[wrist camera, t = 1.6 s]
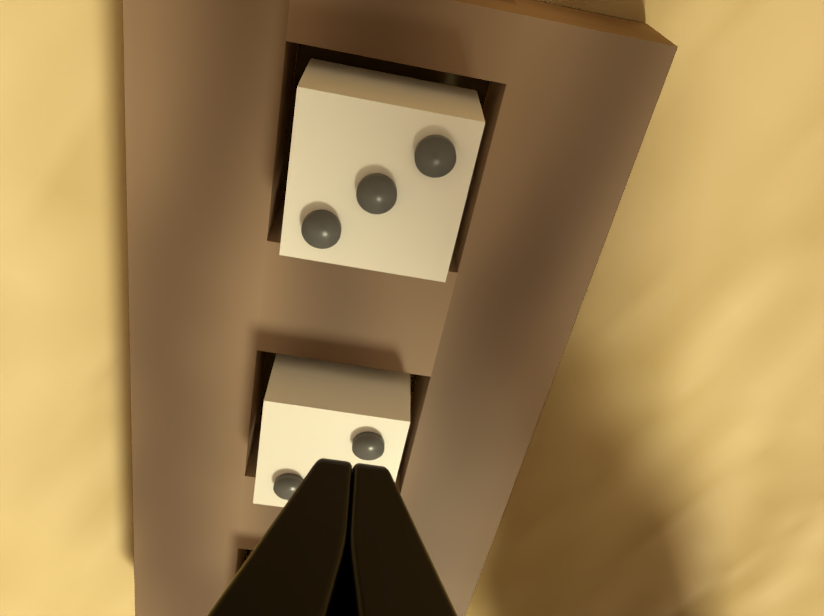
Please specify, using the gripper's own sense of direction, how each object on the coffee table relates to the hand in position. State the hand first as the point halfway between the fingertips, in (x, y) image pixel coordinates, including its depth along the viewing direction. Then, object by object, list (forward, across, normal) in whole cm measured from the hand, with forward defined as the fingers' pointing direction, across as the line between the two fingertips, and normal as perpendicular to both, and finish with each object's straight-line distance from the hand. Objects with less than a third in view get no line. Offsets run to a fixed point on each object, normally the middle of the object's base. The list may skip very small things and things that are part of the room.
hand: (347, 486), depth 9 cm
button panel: (+13, 0, +8) cm, 15 cm away
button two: (+11, 0, +9) cm, 14 cm away
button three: (+11, 0, 0) cm, 11 cm away
